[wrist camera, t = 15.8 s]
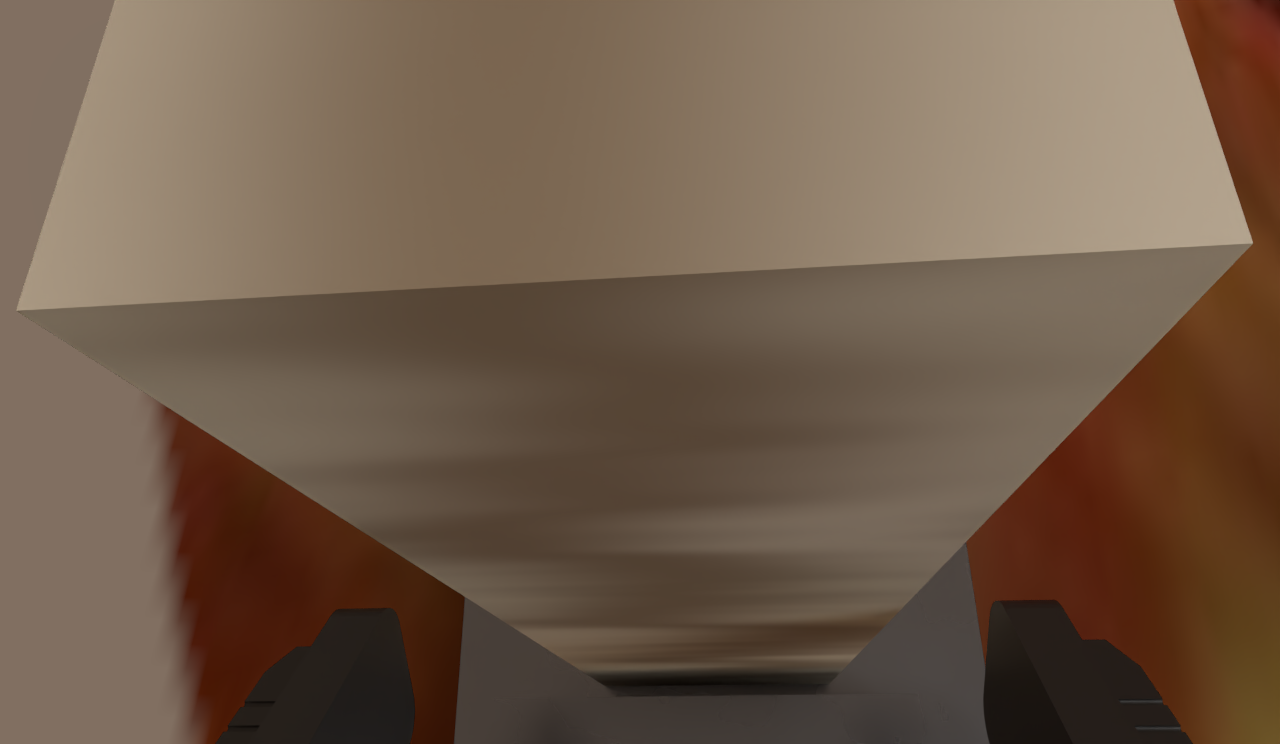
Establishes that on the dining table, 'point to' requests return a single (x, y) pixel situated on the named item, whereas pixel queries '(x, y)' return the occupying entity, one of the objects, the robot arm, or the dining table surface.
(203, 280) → the beige tall block
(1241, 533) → the dining table surface
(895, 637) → the rack
